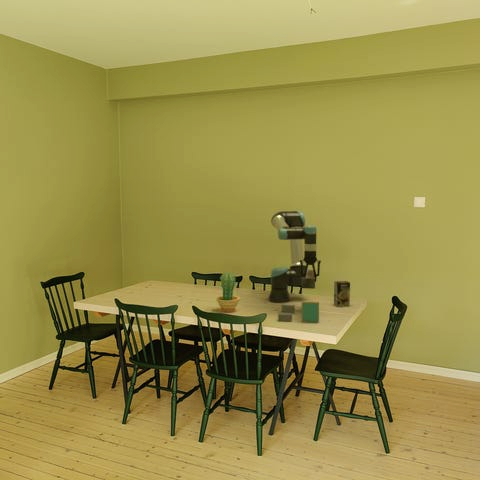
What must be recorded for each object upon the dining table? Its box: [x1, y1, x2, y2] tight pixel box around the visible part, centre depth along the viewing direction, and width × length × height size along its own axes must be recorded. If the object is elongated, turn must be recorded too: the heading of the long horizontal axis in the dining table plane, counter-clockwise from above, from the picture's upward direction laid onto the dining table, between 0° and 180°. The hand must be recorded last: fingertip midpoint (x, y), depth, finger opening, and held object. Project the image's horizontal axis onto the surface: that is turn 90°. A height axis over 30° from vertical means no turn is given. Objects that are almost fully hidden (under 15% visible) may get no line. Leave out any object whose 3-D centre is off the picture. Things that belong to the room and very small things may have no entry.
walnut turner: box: [300, 269, 316, 290], centre depth 295 cm, size 8×30×6 cm, turn 167°
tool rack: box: [277, 304, 296, 322], centre depth 290 cm, size 8×24×4 cm, turn 169°
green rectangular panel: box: [301, 300, 320, 323], centre depth 277 cm, size 10×2×12 cm, turn 79°
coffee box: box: [333, 280, 351, 308], centre depth 314 cm, size 9×6×16 cm
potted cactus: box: [216, 271, 241, 313], centre depth 305 cm, size 15×15×25 cm
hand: (310, 286), depth 297 cm, fingers closed on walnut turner, 4 cm apart
